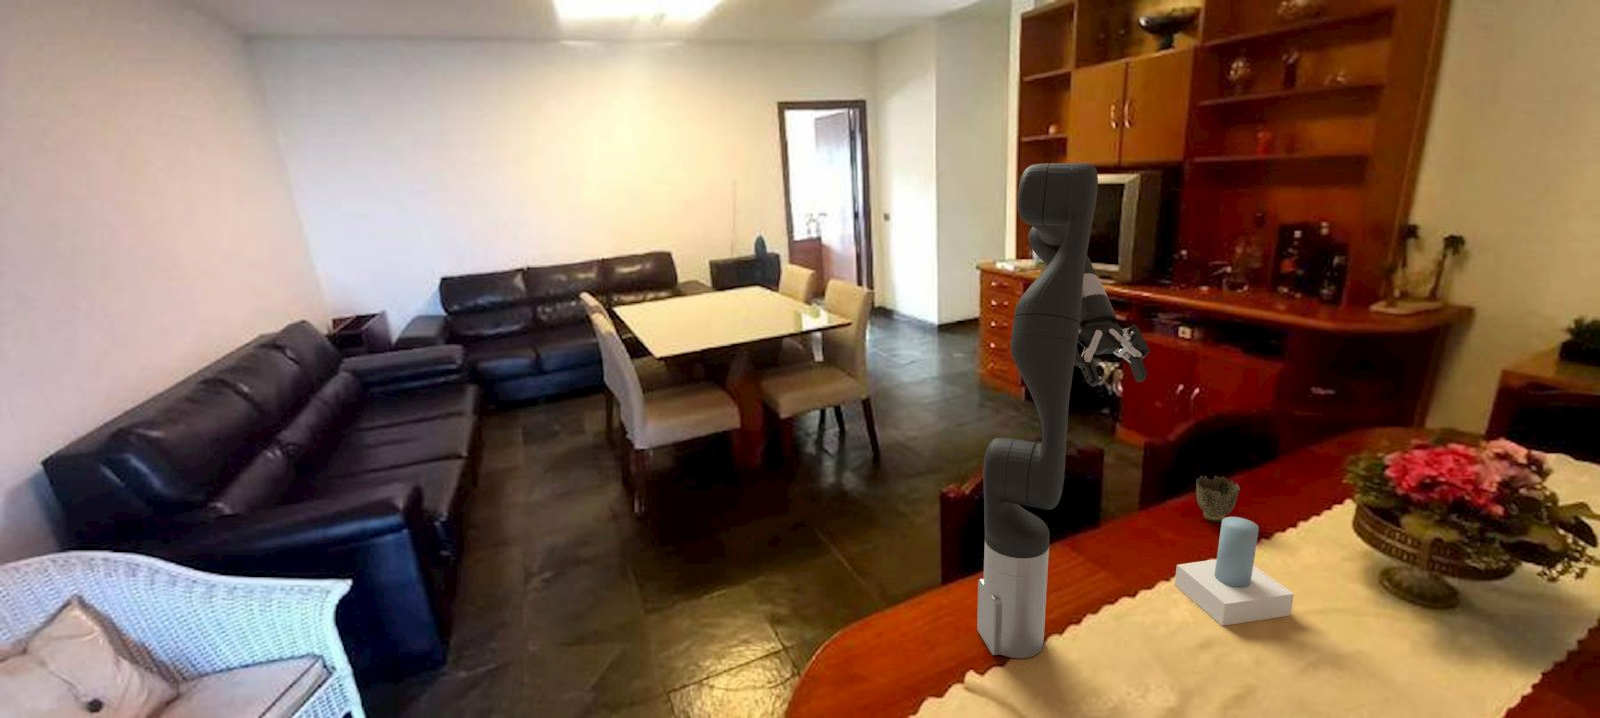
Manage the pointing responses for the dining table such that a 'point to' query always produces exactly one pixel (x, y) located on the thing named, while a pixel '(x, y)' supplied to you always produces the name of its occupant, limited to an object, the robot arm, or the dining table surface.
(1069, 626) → the dining table surface
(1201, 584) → the white plinth
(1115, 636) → the dining table surface
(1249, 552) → the blue cylinder
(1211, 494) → the cup
